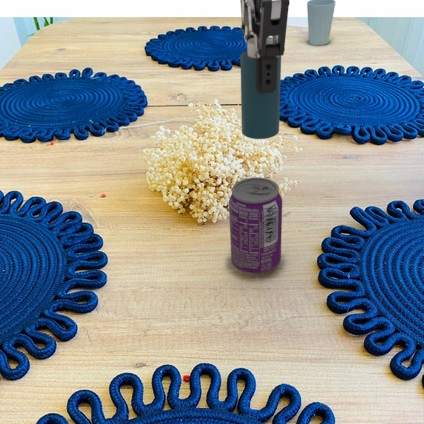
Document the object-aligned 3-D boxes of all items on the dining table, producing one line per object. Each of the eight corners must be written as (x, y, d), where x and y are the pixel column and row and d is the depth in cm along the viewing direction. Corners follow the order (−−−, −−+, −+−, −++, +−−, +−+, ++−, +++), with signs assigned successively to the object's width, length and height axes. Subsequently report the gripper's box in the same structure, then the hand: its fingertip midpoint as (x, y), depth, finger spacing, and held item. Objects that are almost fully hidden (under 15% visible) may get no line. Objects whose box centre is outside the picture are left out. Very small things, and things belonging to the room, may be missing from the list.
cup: (307, 47, 149) (309, 6, 142) (303, 39, 155) (304, -1, 148) (334, 45, 149) (337, 4, 142) (328, 37, 155) (332, -3, 148)
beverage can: (282, 249, 79) (284, 176, 71) (278, 279, 74) (280, 204, 66) (235, 246, 80) (232, 174, 72) (228, 276, 75) (224, 202, 67)
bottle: (274, 121, 68) (276, 32, 61) (282, 137, 64) (286, 44, 57) (238, 125, 67) (236, 36, 60) (245, 141, 64) (244, 48, 57)
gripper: (322, -95, 46) (309, 103, 57) (282, -106, 56) (278, 62, 68) (236, -88, 45) (240, 110, 56) (213, -101, 56) (220, 67, 67)
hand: (261, 83), depth 62 cm, fingers closed on bottle, 4 cm apart
